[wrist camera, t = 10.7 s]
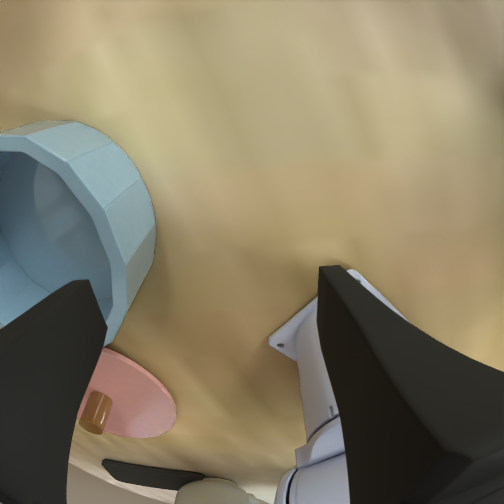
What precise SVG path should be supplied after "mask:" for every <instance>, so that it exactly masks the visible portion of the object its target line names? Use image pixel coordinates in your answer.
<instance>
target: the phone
mask: <svg viewBox="0 0 504 504" xmlns="http://www.w3.org/2000/svg"><path fill="white" fill-rule="evenodd" d="M102 466H103V467H104V468H105V469H106V470H107V471H108V472H109V473H110V475H111V476H112V477H113V478H114V479H116V480H118V481H121V482H125V483H130V484H136V485H141V486H147V487H154V488H161V489H168V490H176V491H179V489H180V488H181V487H182V486H184V485H186V484H188V483H190V482H192V481H196V480H203V478H204V477H203V475H201V474H199V473H194V472H183V471H173V470H164V469H157V468H149V467H143V466H137V465H131V464H125V463H120V462H115V461H110V460H102Z"/></svg>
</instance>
